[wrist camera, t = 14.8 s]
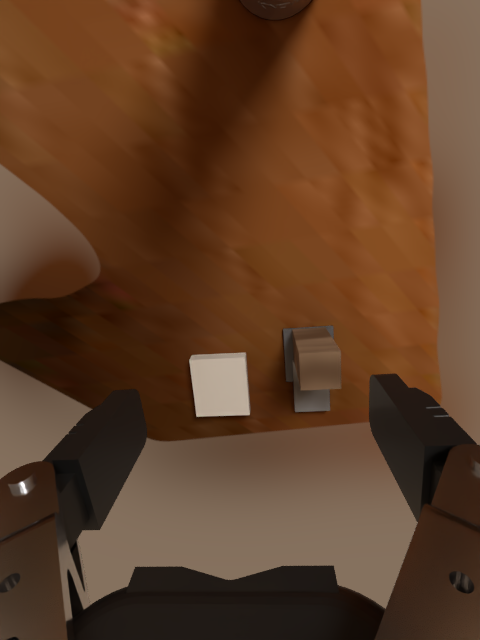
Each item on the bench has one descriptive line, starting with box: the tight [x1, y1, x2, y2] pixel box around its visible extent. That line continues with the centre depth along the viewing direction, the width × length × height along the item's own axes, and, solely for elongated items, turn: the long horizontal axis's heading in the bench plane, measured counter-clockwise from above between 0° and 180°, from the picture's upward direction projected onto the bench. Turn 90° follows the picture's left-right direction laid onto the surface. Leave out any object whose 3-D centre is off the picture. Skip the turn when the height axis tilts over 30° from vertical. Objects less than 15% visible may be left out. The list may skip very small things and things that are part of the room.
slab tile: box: [189, 353, 250, 417], centre depth 42 cm, size 2×7×8 cm
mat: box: [283, 326, 334, 382], centre depth 40 cm, size 7×6×1 cm
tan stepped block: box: [292, 327, 341, 412], centre depth 36 cm, size 11×4×8 cm, turn 5°
